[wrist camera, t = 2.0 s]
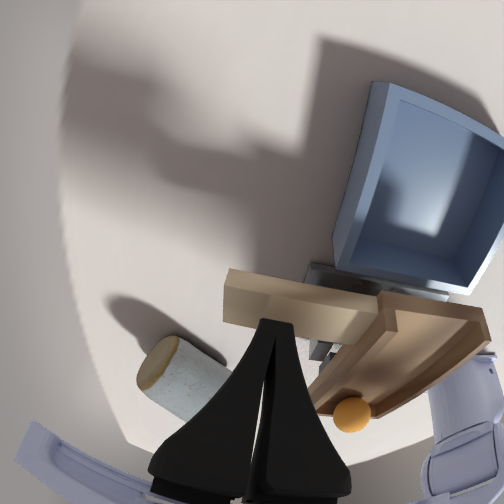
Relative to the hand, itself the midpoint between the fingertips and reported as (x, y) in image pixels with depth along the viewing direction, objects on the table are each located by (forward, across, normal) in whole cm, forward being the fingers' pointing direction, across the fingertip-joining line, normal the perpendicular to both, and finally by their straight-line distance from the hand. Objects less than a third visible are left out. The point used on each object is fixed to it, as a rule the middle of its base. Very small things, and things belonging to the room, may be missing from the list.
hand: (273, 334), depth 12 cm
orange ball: (+1, -8, +10) cm, 13 cm away
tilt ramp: (+5, -5, +5) cm, 8 cm away
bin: (+8, -8, -6) cm, 13 cm away
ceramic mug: (+9, +7, +18) cm, 22 cm away
